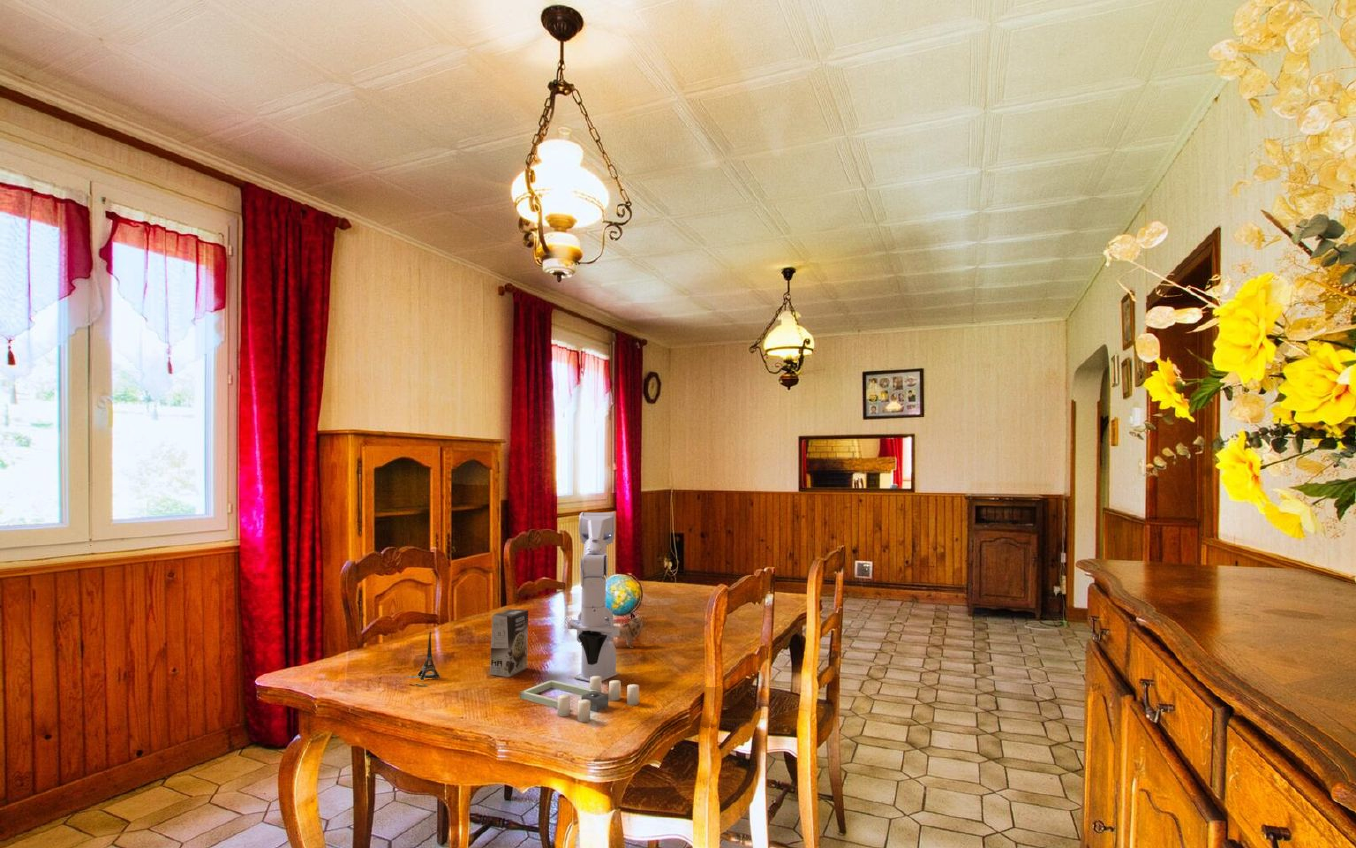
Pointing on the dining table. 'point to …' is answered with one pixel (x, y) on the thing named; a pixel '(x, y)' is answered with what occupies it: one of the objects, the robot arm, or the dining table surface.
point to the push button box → (596, 700)
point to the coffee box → (509, 642)
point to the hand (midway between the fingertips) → (592, 663)
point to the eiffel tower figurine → (427, 666)
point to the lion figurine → (631, 630)
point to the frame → (532, 692)
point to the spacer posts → (596, 685)
